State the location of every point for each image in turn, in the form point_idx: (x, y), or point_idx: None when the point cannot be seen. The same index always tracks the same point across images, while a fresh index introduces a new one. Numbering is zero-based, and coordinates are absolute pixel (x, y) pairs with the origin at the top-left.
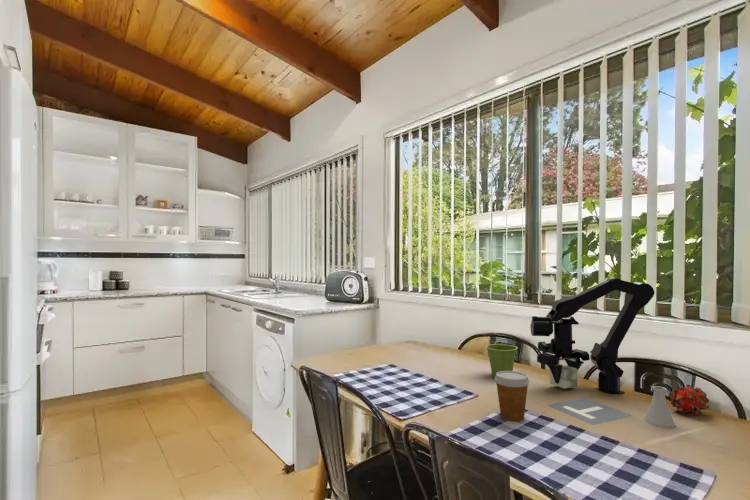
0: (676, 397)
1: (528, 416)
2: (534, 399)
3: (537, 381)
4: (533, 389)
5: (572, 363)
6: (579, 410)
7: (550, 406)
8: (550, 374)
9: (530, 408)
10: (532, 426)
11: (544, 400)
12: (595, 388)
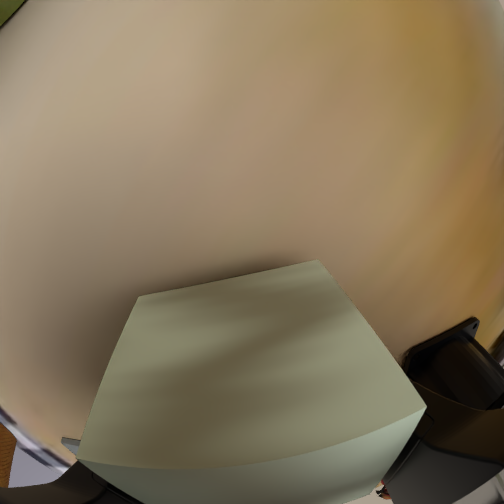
0: (390, 497)
1: (22, 439)
2: (26, 387)
3: (141, 68)
4: (26, 276)
5: (415, 498)
6: None
7: (70, 450)
8: (112, 365)
9: (21, 421)
10: (34, 458)
11: (60, 408)
12: (416, 354)
